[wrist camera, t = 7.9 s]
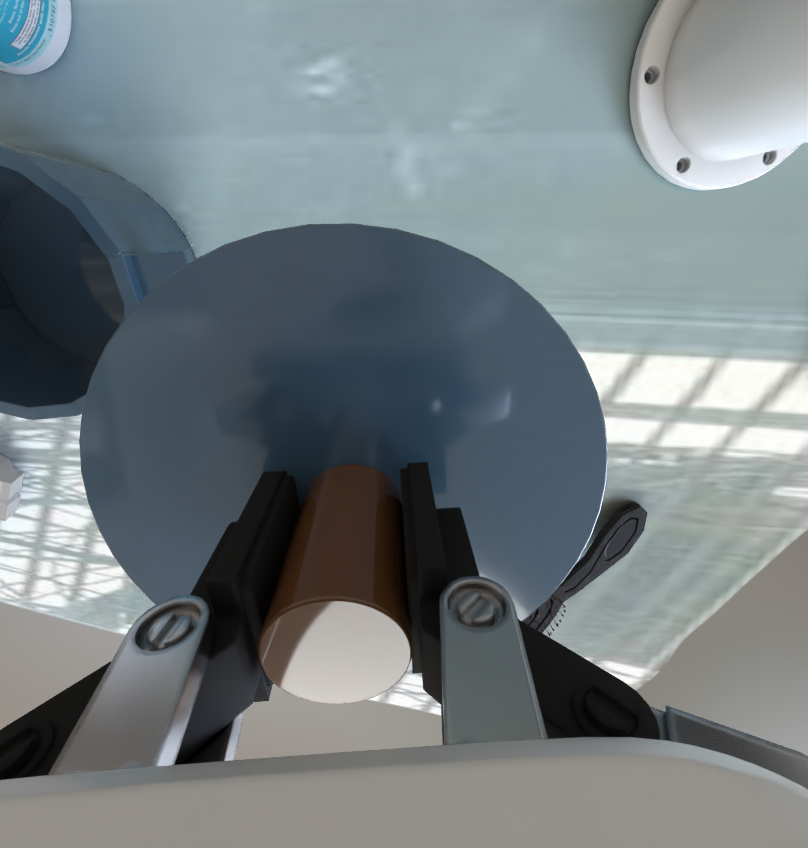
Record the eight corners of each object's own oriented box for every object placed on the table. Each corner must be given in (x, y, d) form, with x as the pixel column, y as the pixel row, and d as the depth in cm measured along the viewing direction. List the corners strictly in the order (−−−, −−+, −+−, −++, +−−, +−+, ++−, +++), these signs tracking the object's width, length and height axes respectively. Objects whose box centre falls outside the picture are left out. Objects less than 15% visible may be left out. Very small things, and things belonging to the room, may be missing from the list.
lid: (10, 253, 10) (-421, 269, 5) (619, 198, 10) (884, 150, 5) (189, 666, 16) (92, 879, 10) (570, 629, 16) (663, 823, 10)
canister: (-93, 179, 26) (-298, 153, 18) (212, 151, 26) (138, 112, 18) (10, 386, 31) (-113, 434, 24) (261, 362, 31) (220, 402, 24)
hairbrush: (687, 545, 37) (496, 707, 43) (660, 521, 40) (486, 674, 46) (628, 497, 34) (435, 676, 41) (605, 476, 38) (430, 644, 44)
